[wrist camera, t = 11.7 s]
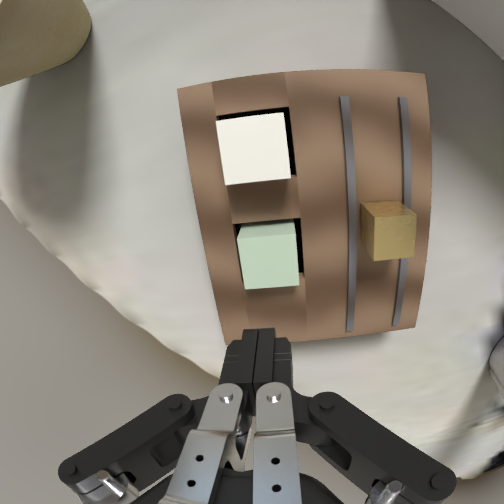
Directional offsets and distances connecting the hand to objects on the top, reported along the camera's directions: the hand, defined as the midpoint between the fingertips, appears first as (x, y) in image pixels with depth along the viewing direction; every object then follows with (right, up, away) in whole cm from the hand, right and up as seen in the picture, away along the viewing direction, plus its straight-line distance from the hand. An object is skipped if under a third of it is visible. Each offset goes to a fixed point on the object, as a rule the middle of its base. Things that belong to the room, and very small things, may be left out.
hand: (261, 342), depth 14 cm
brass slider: (+9, +7, +7) cm, 13 cm away
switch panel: (+5, +9, +13) cm, 17 cm away
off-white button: (0, +12, +8) cm, 15 cm away
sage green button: (+1, +6, +12) cm, 13 cm away
